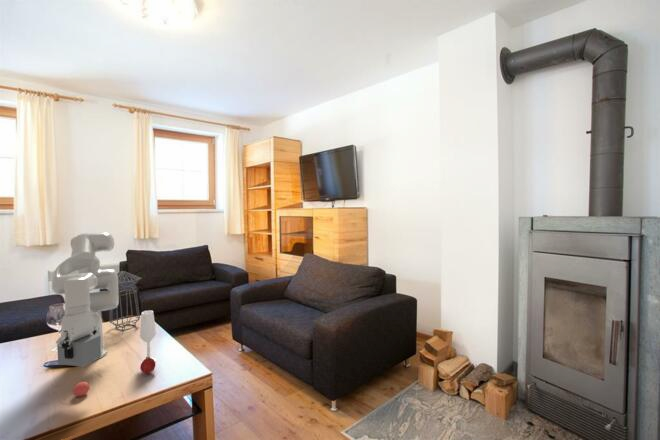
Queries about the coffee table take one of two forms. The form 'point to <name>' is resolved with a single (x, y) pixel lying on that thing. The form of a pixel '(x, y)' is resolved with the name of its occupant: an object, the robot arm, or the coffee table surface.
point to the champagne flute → (147, 329)
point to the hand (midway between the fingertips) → (79, 352)
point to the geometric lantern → (126, 300)
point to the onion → (147, 365)
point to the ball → (81, 389)
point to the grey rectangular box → (81, 351)
